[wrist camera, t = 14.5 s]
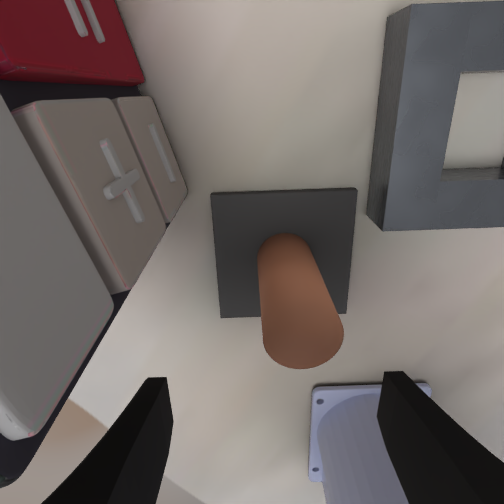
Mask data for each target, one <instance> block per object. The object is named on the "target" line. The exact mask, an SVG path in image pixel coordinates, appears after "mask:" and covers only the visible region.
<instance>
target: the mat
mask: <svg viewBox="0 0 504 504" xmlns="http://www.w3.org/2000/svg"><path fill="white" fill-rule="evenodd" d="M357 192H358V190H357V189H356V188H335V189H307V190H279V191H251V192H223V193H211V207H212V219H213V231H214V243H215V255H216V267H217V279H218V291H219V303H220V315H221V318H236V317H261V306H260V293H259V279H258V265H257V255H258V251H259V249H260V247H261V245H262V244H263V243H264V242H265V241H266V240H267V239H268V238H270V237H271V236H273V235H276V234H280V233H291V234H295V235H297V236H299V237H301V238H302V239H303V240H304V241H305V242H306V243H307V244H308V246H309V248H310V250H311V252H312V255H313V257H314V259H315V262H316V264H317V266H318V269H319V271H320V273H321V276H322V278H323V280H324V283H325V285H326V288H327V290H328V292H329V295H330V297H331V299H332V302H333V304H334V306H335V309H336V311H337V313H338V314H346V310H347V300H348V289H349V278H350V267H351V256H352V246H353V235H354V224H355V213H356V202H357Z"/></svg>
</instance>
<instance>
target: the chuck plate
mask: <svg viewBox="0 0 504 504" xmlns="http://www.w3.org/2000/svg"><path fill="white" fill-rule="evenodd" d="M486 72H504V1H487V2H459V3H431V4H411V5H409V6H407V7H406V8H404V9H402V10H400V11H398V12H396V13H394V14H392V15H391V16H389V17H387V24H386V34H385V43H384V53H383V62H382V72H381V81H380V90H379V100H378V109H377V119H376V128H375V138H374V147H373V156H372V166H371V175H370V185H369V194H368V204H367V213H366V215H367V216H368V217H369V218H370V219H371V220H372V221H373V222H374V223H375V224H376V225H377V226H378V227H379V228H380V229H381V230H382V231H405V230H433V229H460V228H488V227H504V159H503V163H502V167H494V168H466V169H442V168H443V163H444V158H445V152H446V147H447V142H448V136H449V131H450V126H451V121H452V115H453V110H454V105H455V99H456V94H457V89H458V83H459V78H460V73H486Z"/></svg>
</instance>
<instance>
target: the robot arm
mask: <svg viewBox="0 0 504 504" xmlns="http://www.w3.org/2000/svg"><path fill="white" fill-rule="evenodd" d="M431 393H432V389H431V388H430V386H429V384H427V383H414V382H413V381H412V380H411V379H410V378H409V377H408V376H407V375H406V374H405V373H404V372H403V371H389V372H384V376H383V382H382V384H381V385H353V386H325V387H316V388H315V389H314V390H313V391H312V405H311V425H310V444H309V464H308V477H309V480H310V481H312V482H322V483H323V488H324V493H325V498H326V503H327V504H504V463H503V462H502V461H501V460H499V459H498V458H497V457H496V456H494V455H493V454H492V453H491V452H490V451H488V450H487V449H486V448H485V447H484V446H483V445H481V444H480V443H479V442H478V441H477V440H475V439H474V438H473V437H472V436H471V435H470V434H469V433H467V432H466V431H465V430H464V429H463V428H462V427H461V426H460V425H458V424H457V423H456V422H455V421H454V420H453V419H452V418H451V417H450V416H449V415H448V414H446V413H445V412H444V411H443V410H442V409H441V408H440V407H439V406H438V405H437V404H436V403H435V402H434V401H433V400H432V399H431V398H430V397H431ZM318 399H321V400H318ZM172 428H173V415H172V409H171V403H170V396H169V390H168V383H167V377H152V378H147V379H146V380H145V381H144V383H143V384H142V386H141V387H140V389H139V390H138V391H137V393H136V394H135V396H134V397H133V398H132V400H131V401H130V403H129V404H128V405H127V407H126V408H125V409H124V411H123V412H122V413H121V415H120V416H119V417H118V418H117V420H116V421H115V422H114V424H113V425H112V426H111V427H110V429H109V430H108V431H107V433H106V434H105V435H104V436H103V437H102V439H101V440H100V441H99V442H98V443H97V445H96V446H95V447H94V448H93V449H92V450H91V452H90V453H89V454H88V455H87V456H86V458H85V459H84V460H83V461H82V462H81V463H80V464H79V466H77V468H76V469H75V470H74V471H73V472H72V473H71V474H70V475H69V476H68V477H67V478H66V479H65V480H64V481H63V483H61V485H60V486H59V487H58V488H57V489H56V490H55V491H54V492H53V493H52V494H51V495H50V496H49V497H48V498H47V499H46V500H44V501H43V502H42V503H41V504H156V500H157V497H158V493H159V489H160V485H161V481H162V478H163V474H164V470H165V466H166V462H167V458H168V454H169V448H170V442H171V435H172Z"/></svg>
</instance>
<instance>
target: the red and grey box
mask: <svg viewBox="0 0 504 504" xmlns="http://www.w3.org/2000/svg"><path fill="white" fill-rule="evenodd" d="M143 82H144V77H143V74H142V71H141V68H140V66H139V63H138V61H137V58H136V56H135V53H134V50H133V48H132V45H131V43H130V40H129V37H128V35H127V32H126V30H125V27H124V25H123V22H122V19H121V17H120V14H119V12H118V9H117V6H116V4H115V1H114V0H0V488H2V487H5V486H8V485H10V484H11V483H13V482H14V481H16V480H17V479H18V478H19V477H20V476H21V474H22V473H23V472H24V471H25V469H26V468H27V466H28V465H29V463H30V462H31V460H32V458H33V457H34V455H35V453H36V452H37V450H38V448H39V446H40V445H41V443H42V441H43V440H44V438H45V436H46V434H47V433H48V431H49V429H50V428H51V426H52V424H53V423H54V421H55V419H56V417H57V416H58V414H59V412H60V411H61V409H62V407H63V405H64V404H65V402H66V400H67V399H68V397H69V395H70V393H71V392H72V390H73V388H74V387H75V385H76V383H77V381H78V380H79V378H80V376H81V375H82V373H83V371H84V369H85V368H86V366H87V364H88V363H89V361H90V359H91V357H92V356H93V354H94V352H95V351H96V349H97V347H98V345H99V344H100V342H101V340H102V339H103V337H104V335H105V333H106V332H107V330H108V328H109V327H110V325H111V323H112V322H113V320H114V318H115V316H116V315H117V313H118V311H119V310H120V308H121V306H122V304H123V303H124V301H125V299H126V298H127V296H128V294H129V292H130V291H131V289H132V287H133V286H134V285H135V283H136V281H137V280H138V278H139V276H140V274H141V273H142V271H143V269H144V268H145V266H146V264H147V262H148V261H149V259H150V257H151V256H152V254H153V252H154V250H155V249H156V247H157V245H158V244H159V242H160V240H161V238H162V237H163V235H164V233H165V231H166V229H167V227H168V226H169V224H170V222H171V221H172V219H173V218H174V216H175V214H176V213H177V211H178V209H179V207H180V206H181V204H182V202H183V200H184V199H185V197H186V195H187V188H186V185H185V182H184V180H183V177H182V175H181V172H180V169H179V167H178V164H177V162H176V159H175V156H174V154H173V151H172V149H171V146H170V144H169V141H168V138H167V136H166V133H165V131H164V128H163V125H162V123H161V120H160V118H159V115H158V112H157V110H156V107H155V105H154V102H153V100H152V98H151V97H149V96H141V95H140V92H139V90H138V87H137V85H138V84H141V83H143Z"/></svg>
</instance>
